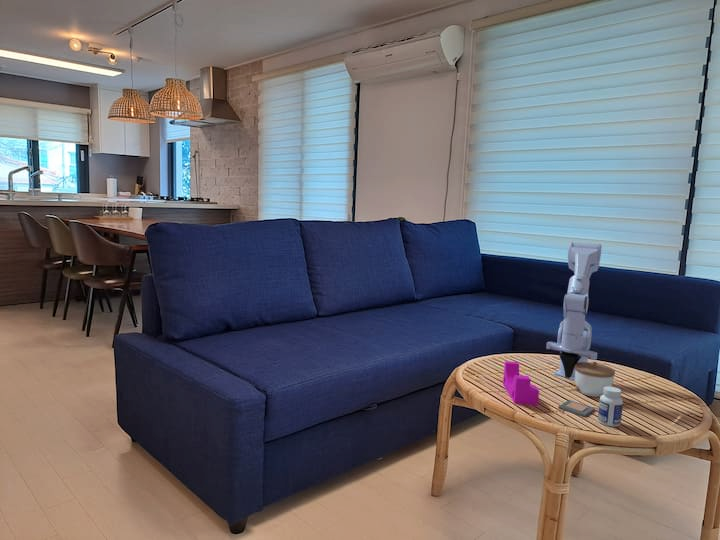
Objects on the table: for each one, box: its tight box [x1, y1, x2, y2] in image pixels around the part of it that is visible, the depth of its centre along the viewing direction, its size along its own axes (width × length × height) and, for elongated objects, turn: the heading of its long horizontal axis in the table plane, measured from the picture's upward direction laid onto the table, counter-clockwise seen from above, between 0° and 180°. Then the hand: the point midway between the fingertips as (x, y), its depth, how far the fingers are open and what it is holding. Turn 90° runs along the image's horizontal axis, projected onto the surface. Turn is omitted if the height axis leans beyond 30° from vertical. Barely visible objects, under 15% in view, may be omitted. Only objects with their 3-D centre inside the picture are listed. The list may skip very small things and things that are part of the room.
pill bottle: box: [597, 386, 624, 428], centre depth 128 cm, size 5×5×9 cm
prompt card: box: [557, 399, 596, 418], centre depth 136 cm, size 7×7×1 cm
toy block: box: [502, 360, 540, 406], centre depth 145 cm, size 15×6×8 cm, turn 176°
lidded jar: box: [574, 361, 616, 398], centre depth 148 cm, size 11×11×9 cm
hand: (568, 376), depth 154 cm, fingers closed
